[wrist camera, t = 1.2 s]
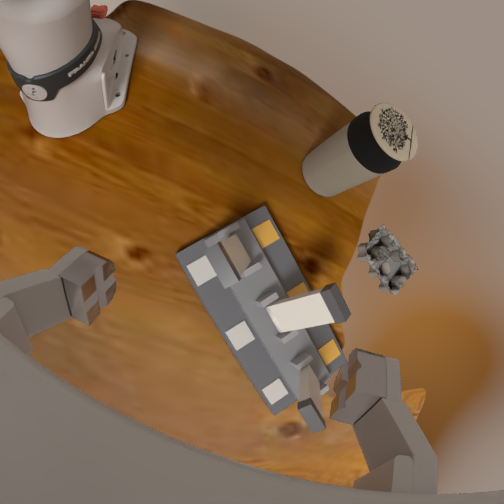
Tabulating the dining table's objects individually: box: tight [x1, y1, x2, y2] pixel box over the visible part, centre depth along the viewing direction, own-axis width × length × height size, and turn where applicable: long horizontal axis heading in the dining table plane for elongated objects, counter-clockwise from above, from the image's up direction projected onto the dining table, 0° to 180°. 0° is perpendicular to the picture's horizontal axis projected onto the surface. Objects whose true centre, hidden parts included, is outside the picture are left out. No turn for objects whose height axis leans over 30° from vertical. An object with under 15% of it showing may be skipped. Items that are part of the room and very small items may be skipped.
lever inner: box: [204, 234, 251, 289], centre depth 36 cm, size 2×4×11 cm, turn 30°
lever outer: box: [298, 363, 326, 433], centre depth 37 cm, size 2×4×11 cm, turn 30°
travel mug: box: [302, 103, 418, 197], centre depth 41 cm, size 8×8×18 cm
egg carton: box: [357, 225, 418, 296], centre depth 50 cm, size 11×8×4 cm
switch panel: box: [175, 205, 347, 415], centre depth 42 cm, size 14×27×5 cm, turn 31°
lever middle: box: [265, 283, 351, 333], centre depth 38 cm, size 2×4×11 cm, turn 31°
